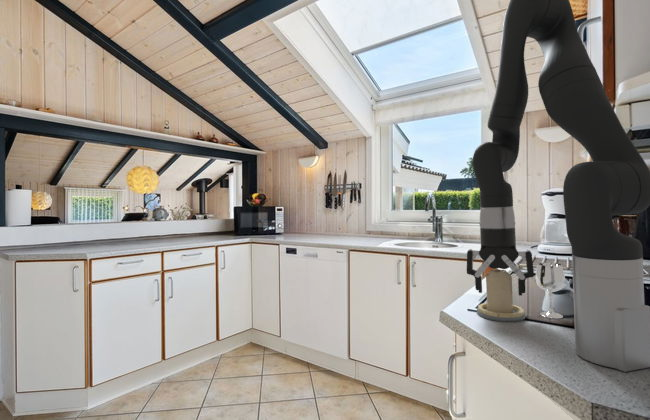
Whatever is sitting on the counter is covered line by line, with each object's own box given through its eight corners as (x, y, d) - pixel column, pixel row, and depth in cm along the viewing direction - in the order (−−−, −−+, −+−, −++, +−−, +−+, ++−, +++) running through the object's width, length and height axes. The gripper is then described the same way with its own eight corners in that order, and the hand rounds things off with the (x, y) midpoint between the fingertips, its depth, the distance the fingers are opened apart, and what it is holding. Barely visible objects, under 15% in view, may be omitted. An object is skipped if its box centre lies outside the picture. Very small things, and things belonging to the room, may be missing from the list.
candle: (489, 314, 80) (487, 271, 80) (485, 307, 86) (484, 267, 85) (515, 315, 79) (513, 272, 79) (510, 308, 84) (508, 267, 84)
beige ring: (536, 318, 78) (536, 311, 78) (497, 324, 76) (496, 316, 76) (503, 306, 88) (503, 300, 88) (467, 310, 86) (467, 304, 86)
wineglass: (540, 318, 78) (538, 266, 78) (534, 311, 84) (532, 262, 84) (570, 320, 76) (568, 266, 76) (561, 312, 82) (559, 262, 82)
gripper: (530, 224, 82) (533, 292, 82) (466, 225, 89) (469, 287, 89) (533, 226, 75) (535, 300, 75) (463, 227, 82) (466, 294, 82)
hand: (499, 293), depth 82 cm, fingers open, 8 cm apart
